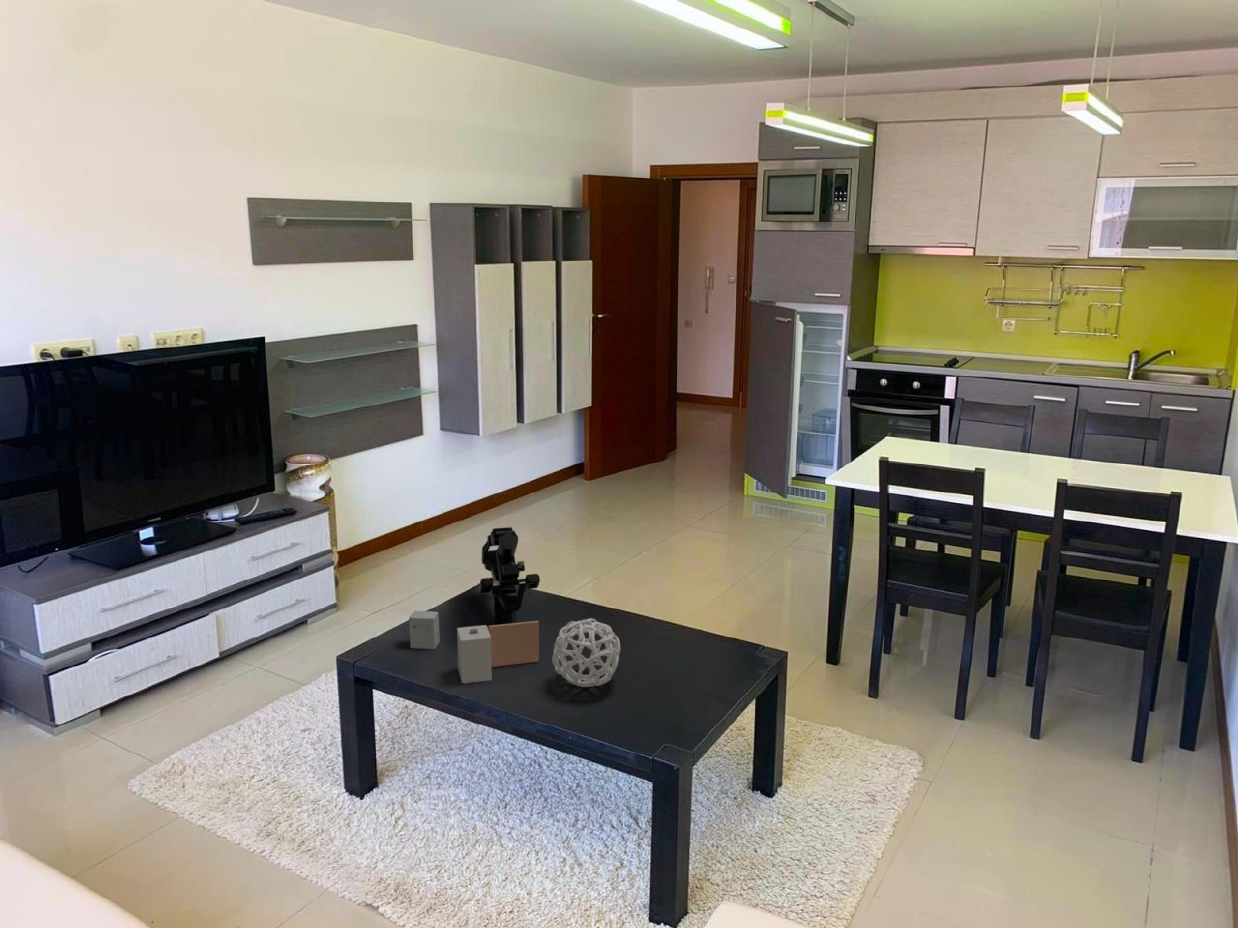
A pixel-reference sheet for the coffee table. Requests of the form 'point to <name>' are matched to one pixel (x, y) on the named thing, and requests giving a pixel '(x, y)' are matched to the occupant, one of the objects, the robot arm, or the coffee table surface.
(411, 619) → the small box
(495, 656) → the side door
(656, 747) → the coffee table surface
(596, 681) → the decorative ball
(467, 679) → the beige rectangular box
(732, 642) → the coffee table surface
